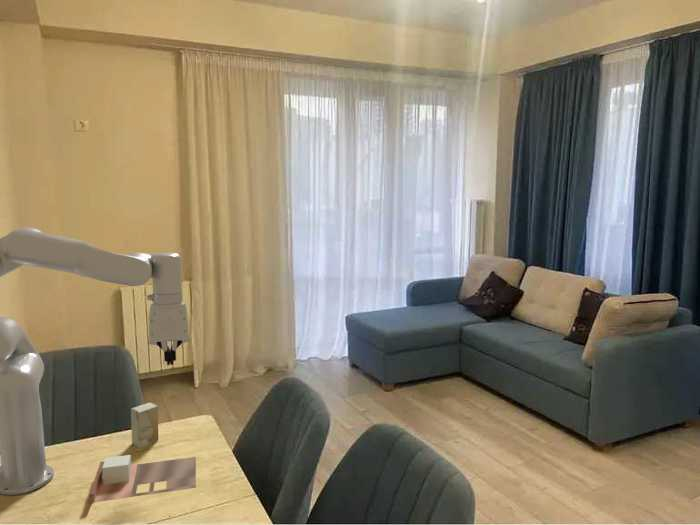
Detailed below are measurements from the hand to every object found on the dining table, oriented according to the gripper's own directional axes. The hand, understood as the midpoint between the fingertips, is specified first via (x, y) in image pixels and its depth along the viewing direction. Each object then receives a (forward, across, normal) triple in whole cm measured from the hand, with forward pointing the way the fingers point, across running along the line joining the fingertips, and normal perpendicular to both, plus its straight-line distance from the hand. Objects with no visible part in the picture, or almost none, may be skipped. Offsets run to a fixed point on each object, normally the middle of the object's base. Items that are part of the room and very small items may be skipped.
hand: (170, 363), depth 143 cm
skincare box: (+27, -8, +7) cm, 29 cm away
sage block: (+26, -13, -11) cm, 31 cm away
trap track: (+27, -6, -13) cm, 31 cm away
